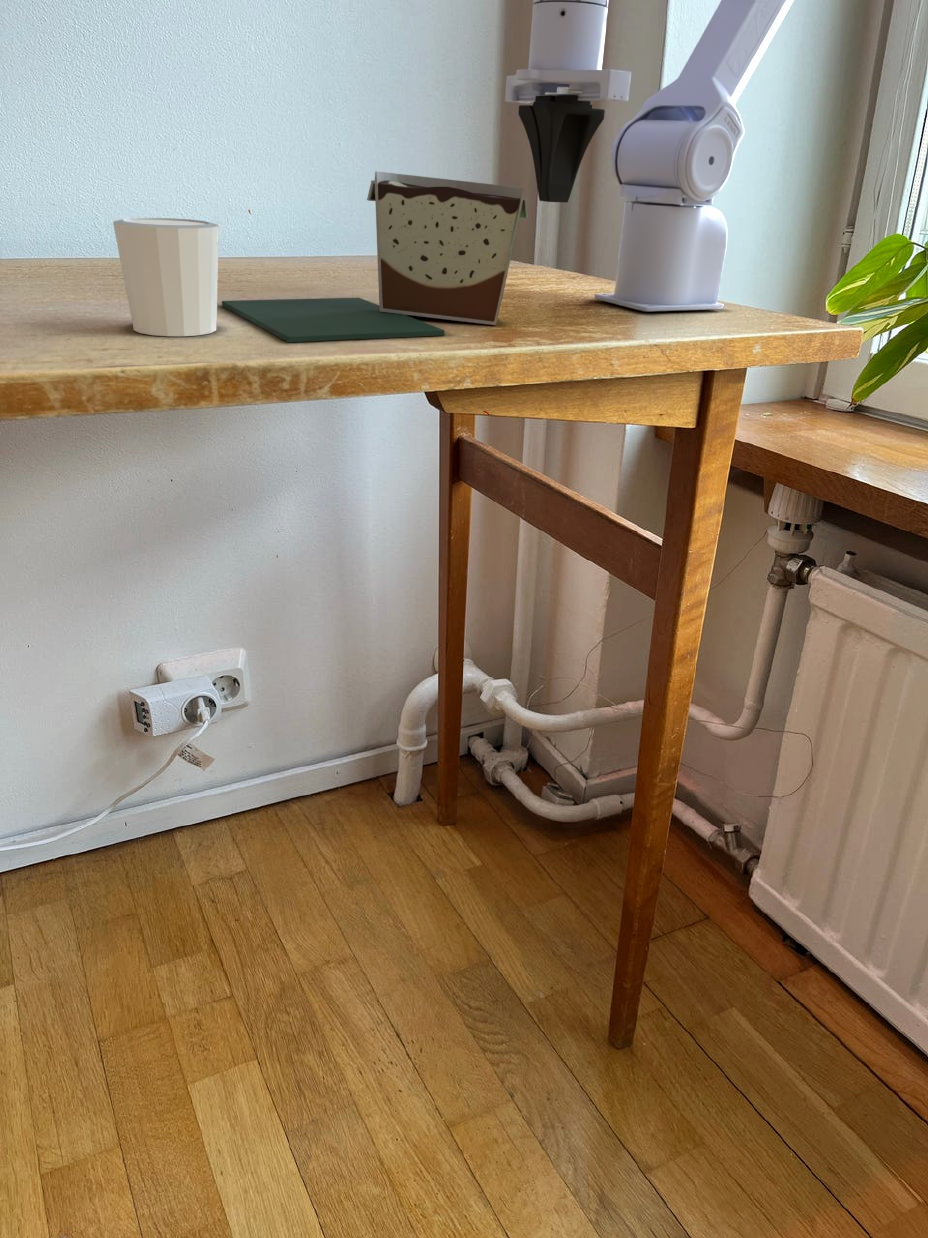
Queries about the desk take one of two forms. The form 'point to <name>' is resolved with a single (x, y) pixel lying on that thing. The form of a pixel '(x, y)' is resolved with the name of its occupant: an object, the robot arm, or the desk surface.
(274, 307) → the mat
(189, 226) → the white cup
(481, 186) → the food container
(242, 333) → the desk surface
